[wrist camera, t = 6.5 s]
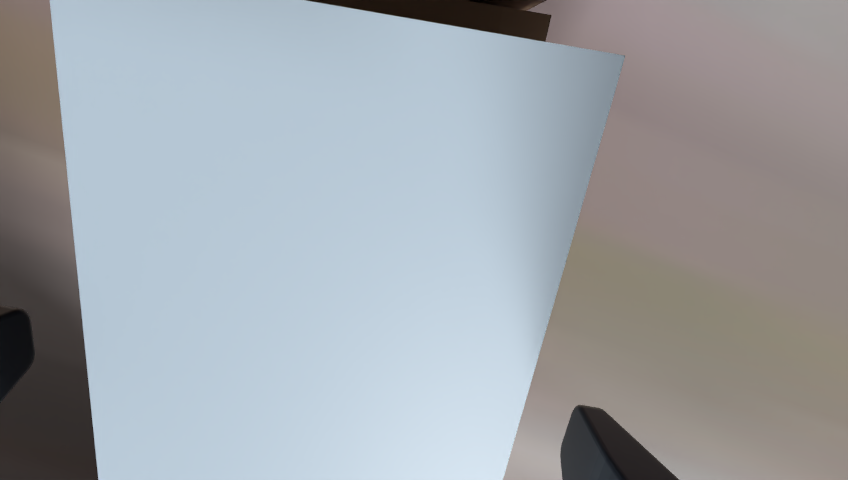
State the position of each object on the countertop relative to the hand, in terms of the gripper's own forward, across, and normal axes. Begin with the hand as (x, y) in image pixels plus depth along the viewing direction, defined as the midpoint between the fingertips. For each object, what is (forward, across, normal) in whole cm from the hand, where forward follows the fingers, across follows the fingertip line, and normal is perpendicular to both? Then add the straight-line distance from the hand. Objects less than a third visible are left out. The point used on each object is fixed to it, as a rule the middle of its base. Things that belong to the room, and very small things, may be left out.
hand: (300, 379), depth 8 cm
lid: (+2, 0, 0) cm, 3 cm away
